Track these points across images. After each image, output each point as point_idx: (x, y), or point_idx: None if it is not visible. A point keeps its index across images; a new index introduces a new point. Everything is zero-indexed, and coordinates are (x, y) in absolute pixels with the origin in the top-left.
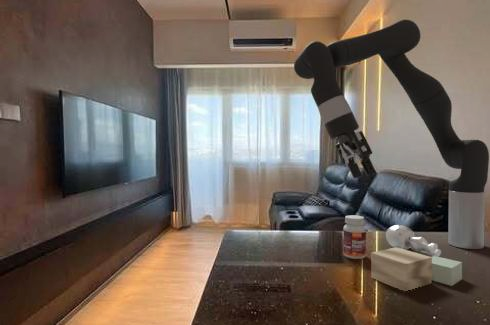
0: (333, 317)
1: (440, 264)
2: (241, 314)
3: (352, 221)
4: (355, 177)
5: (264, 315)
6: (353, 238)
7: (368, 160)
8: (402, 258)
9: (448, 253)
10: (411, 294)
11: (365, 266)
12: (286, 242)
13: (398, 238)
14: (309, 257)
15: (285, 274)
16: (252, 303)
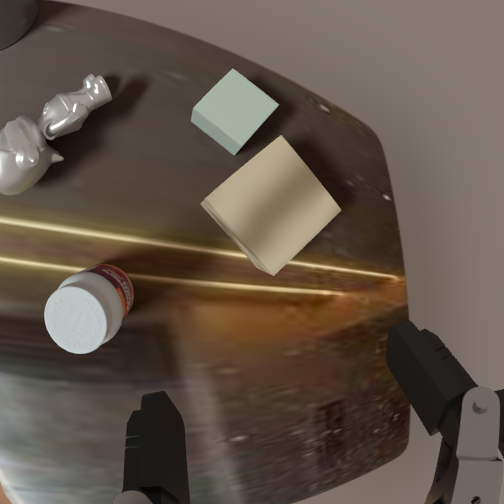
0: None
1: (259, 117)
2: (399, 425)
3: (109, 329)
4: (181, 419)
5: (402, 404)
6: (125, 311)
7: (469, 386)
8: (305, 206)
9: (57, 60)
10: None
11: (182, 272)
12: (57, 445)
13: (42, 163)
14: None
15: (271, 425)
16: (377, 427)
